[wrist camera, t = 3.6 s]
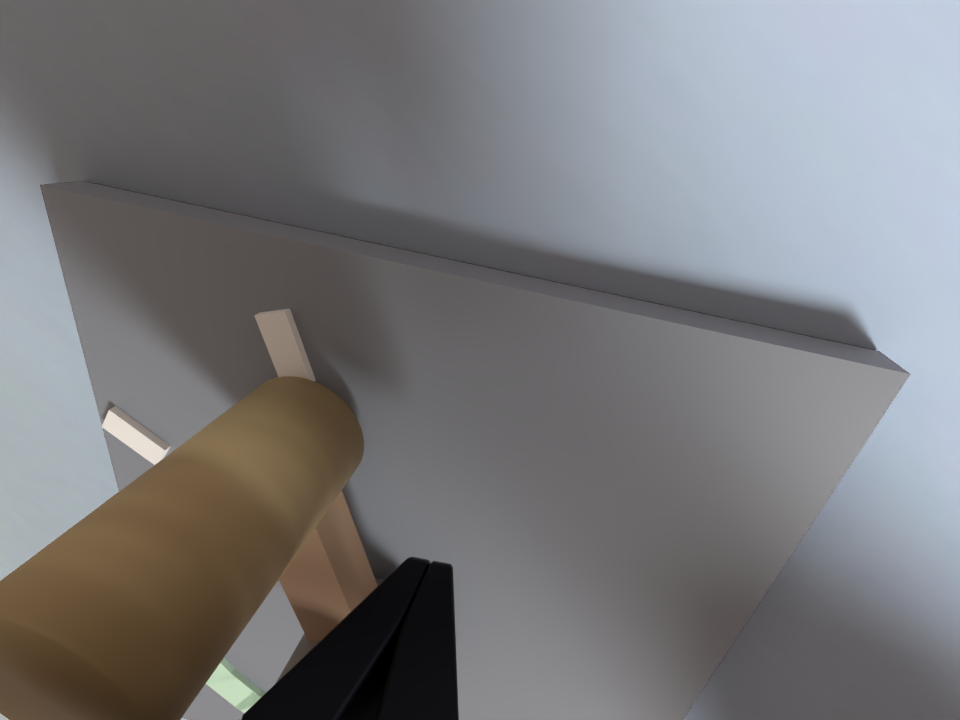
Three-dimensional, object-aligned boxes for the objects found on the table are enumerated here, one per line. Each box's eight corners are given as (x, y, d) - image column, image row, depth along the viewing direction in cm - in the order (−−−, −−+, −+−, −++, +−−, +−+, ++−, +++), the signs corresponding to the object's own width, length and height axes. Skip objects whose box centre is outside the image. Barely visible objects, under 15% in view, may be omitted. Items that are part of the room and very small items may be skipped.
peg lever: (462, 674, 14) (383, 1008, 9) (346, 663, 15) (211, 955, 10) (366, 365, 10) (111, 625, 5) (217, 378, 11) (-131, 604, 6)
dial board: (879, 351, 9) (917, 379, 8) (588, 829, 19) (588, 869, 18) (53, 175, 11) (-1, 178, 10) (178, 685, 21) (156, 714, 20)
